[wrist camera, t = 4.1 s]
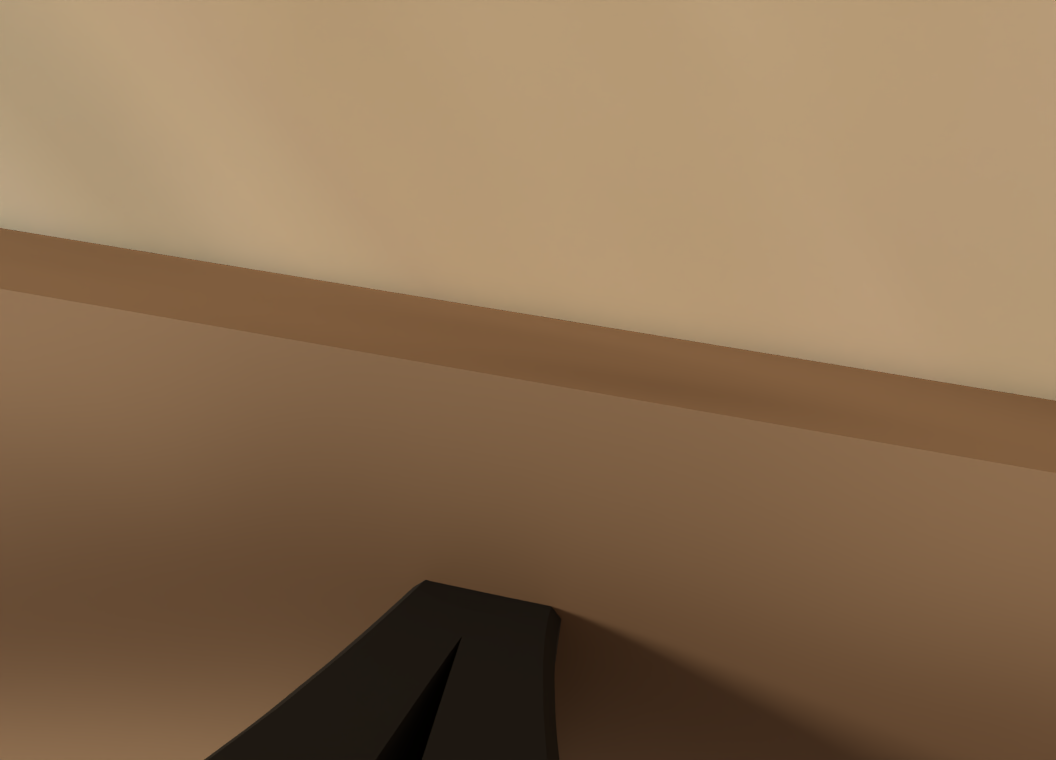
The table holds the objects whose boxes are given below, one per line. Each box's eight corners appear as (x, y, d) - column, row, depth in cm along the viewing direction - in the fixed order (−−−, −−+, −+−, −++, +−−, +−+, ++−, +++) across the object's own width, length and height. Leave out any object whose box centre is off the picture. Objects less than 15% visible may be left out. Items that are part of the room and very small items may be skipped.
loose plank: (1757, 1143, 9) (1928, 1333, 8) (-64, 686, 13) (-158, 769, 11) (2396, 621, 7) (2834, 783, 5) (-179, 198, 10) (-324, 232, 8)
